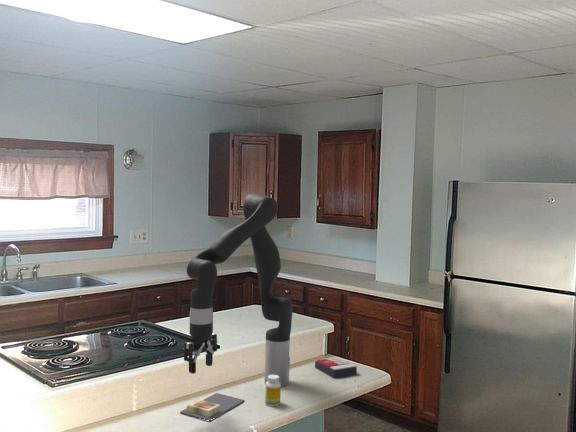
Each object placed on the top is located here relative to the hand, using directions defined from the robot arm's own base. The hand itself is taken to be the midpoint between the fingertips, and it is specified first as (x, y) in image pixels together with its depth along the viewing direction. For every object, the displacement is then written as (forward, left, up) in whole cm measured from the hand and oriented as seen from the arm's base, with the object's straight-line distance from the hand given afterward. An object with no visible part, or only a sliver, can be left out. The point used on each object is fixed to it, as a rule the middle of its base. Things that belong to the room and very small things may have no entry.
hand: (200, 369), depth 185 cm
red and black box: (-65, +19, -16) cm, 69 cm away
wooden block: (-4, 0, -13) cm, 14 cm away
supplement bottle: (-21, +15, -15) cm, 30 cm away
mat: (-7, 0, -15) cm, 16 cm away
